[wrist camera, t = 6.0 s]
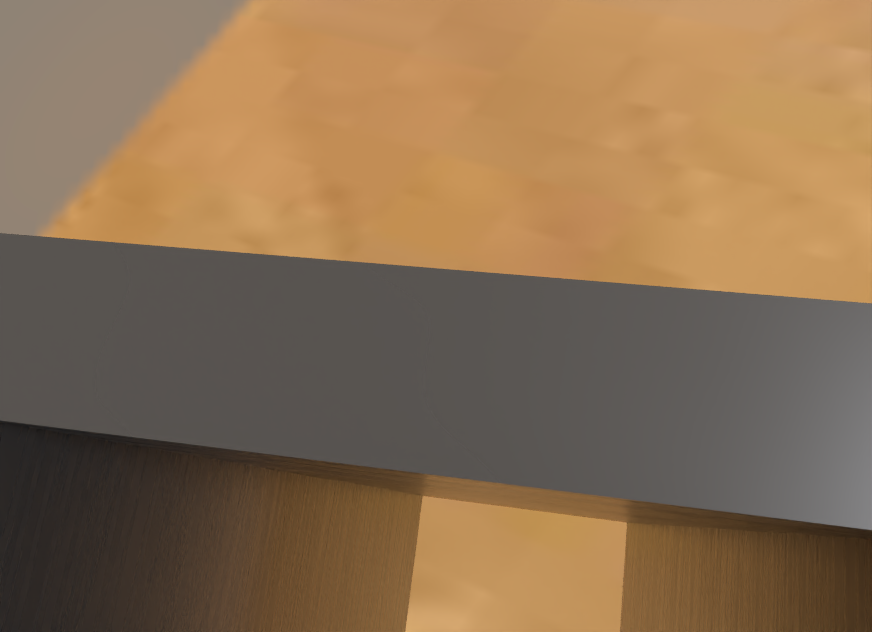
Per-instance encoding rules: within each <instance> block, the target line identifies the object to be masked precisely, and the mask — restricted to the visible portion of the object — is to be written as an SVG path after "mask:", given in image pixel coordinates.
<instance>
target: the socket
mask: <svg viewBox="0 0 872 632" xmlns="http://www.w3.org/2000/svg"><path fill="white" fill-rule="evenodd" d="M422 496H428V497H436V498H444V499H451V500H459V501H467V502H474V503H482V504H490V505H497V506H505V507H513V508H520V509H528V510H536V511H543V512H551V513H559V514H566V515H574V516H582V517H589V518H597V519H605V520H612V521H620V522H627V534H626V549H625V565H624V580H623V596H622V611H621V627H620V632H872V304H870V303H858V302H846V301H833V300H821V299H808V298H796V297H784V296H771V295H759V294H746V293H734V292H722V291H709V290H697V289H684V288H672V287H660V286H647V285H635V284H623V283H610V282H598V281H585V280H573V279H561V278H548V277H536V276H523V275H511V274H499V273H486V272H474V271H461V270H449V269H437V268H424V267H412V266H399V265H387V264H375V263H362V262H350V261H338V260H325V259H313V258H300V257H288V256H276V255H263V254H251V253H238V252H226V251H214V250H201V249H189V248H176V247H164V246H152V245H139V244H127V243H115V242H102V241H90V240H77V239H65V238H53V237H40V236H27V235H14V234H2V233H0V632H405V628H406V621H407V613H408V605H409V597H410V590H411V582H412V574H413V566H414V558H415V551H416V543H417V535H418V527H419V520H420V512H421V504H422Z"/></svg>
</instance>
